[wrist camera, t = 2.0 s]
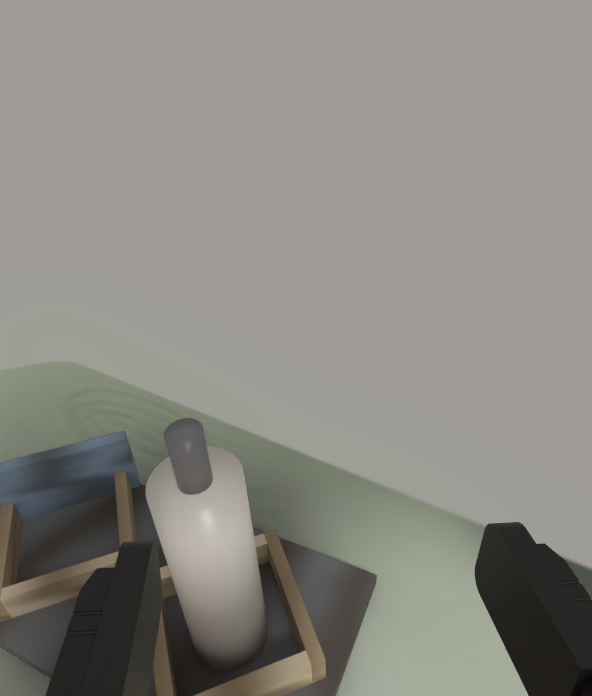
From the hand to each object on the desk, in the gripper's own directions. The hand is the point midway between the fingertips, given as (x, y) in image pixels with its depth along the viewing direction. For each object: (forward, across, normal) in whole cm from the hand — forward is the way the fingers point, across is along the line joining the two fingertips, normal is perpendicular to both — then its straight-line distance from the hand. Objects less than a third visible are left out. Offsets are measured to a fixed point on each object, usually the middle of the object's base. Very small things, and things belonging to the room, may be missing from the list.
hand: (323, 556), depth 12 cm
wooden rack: (+15, +8, +19) cm, 26 cm away
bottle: (+11, +3, +18) cm, 22 cm away
